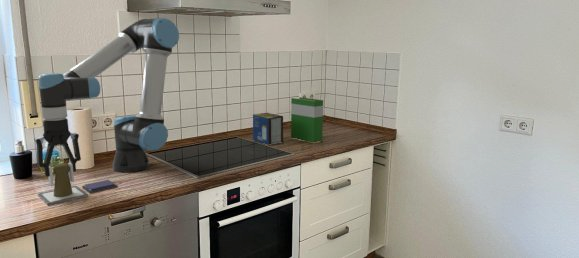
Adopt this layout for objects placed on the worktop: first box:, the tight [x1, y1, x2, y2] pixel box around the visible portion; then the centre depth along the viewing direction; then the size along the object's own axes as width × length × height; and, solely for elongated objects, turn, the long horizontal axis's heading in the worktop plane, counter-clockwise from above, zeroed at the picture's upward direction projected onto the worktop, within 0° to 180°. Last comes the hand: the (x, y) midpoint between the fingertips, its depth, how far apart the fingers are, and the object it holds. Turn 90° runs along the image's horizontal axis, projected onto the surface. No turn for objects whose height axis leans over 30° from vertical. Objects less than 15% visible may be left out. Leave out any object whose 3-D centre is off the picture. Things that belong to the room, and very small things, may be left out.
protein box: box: [252, 112, 284, 146], centre depth 235 cm, size 10×15×16 cm
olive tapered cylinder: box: [52, 163, 73, 197], centre depth 148 cm, size 6×6×11 cm
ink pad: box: [81, 179, 118, 194], centre depth 158 cm, size 10×8×1 cm
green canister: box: [290, 96, 324, 142], centre depth 239 cm, size 18×7×24 cm, turn 45°
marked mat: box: [37, 185, 89, 206], centre depth 149 cm, size 13×13×1 cm
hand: (61, 182), depth 148 cm, fingers open, 6 cm apart
